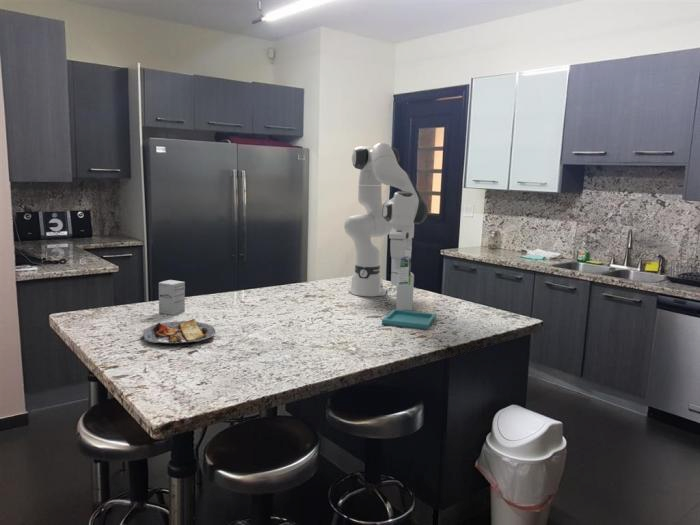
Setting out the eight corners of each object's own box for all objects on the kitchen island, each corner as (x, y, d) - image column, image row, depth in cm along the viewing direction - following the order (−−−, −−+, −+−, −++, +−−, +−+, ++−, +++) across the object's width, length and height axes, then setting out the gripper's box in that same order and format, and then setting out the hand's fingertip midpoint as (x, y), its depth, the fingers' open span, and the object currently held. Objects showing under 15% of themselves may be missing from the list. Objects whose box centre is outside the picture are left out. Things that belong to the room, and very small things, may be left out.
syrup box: (398, 286, 209) (399, 249, 207) (390, 283, 214) (391, 248, 212) (410, 285, 212) (412, 249, 210) (402, 283, 217) (403, 247, 215)
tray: (393, 313, 226) (393, 309, 225) (435, 318, 220) (435, 314, 220) (381, 324, 209) (382, 319, 209) (427, 330, 203) (427, 325, 203)
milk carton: (411, 307, 239) (414, 265, 236) (412, 311, 232) (414, 268, 229) (395, 306, 239) (398, 264, 236) (395, 310, 232) (397, 267, 229)
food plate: (142, 328, 192) (141, 319, 191) (208, 324, 201) (208, 315, 200) (145, 352, 169) (145, 341, 168) (219, 346, 178) (219, 336, 178)
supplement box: (158, 313, 213) (157, 282, 211) (171, 309, 220) (170, 279, 218) (173, 315, 210) (172, 284, 208) (185, 311, 217) (185, 281, 215)
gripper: (401, 230, 221) (399, 263, 223) (388, 234, 202) (386, 270, 204) (416, 231, 219) (414, 264, 221) (404, 235, 200) (402, 271, 202)
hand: (401, 267), depth 212 cm, fingers closed on syrup box, 8 cm apart
